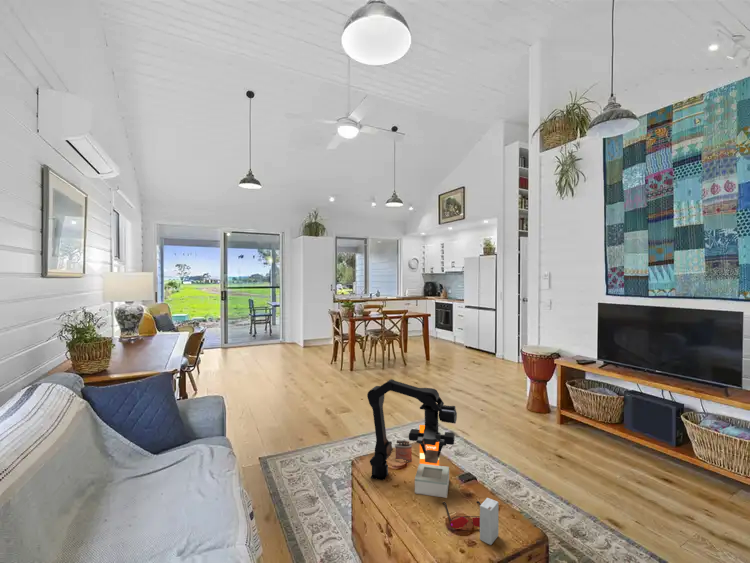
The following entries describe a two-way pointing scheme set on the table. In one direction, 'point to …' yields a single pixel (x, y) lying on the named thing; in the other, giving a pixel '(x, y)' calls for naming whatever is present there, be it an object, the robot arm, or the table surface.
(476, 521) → the glasses
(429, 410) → the robot arm
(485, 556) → the table surface
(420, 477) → the slot box
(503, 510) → the table surface
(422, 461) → the orange juice
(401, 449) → the ornate red flask
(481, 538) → the skincare box
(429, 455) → the brown square block
